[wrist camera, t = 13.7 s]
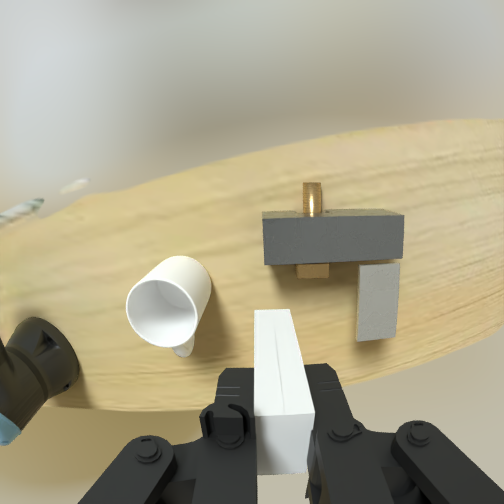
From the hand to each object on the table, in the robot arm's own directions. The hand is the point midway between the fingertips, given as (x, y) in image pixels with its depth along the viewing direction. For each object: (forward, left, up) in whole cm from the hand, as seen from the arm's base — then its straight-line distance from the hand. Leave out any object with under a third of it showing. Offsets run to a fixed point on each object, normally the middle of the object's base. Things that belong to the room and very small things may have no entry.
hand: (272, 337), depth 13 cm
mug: (-11, -8, -27) cm, 31 cm away
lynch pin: (+6, 0, -27) cm, 28 cm away
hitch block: (+8, 0, -27) cm, 28 cm away
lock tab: (+13, -7, -20) cm, 24 cm away
